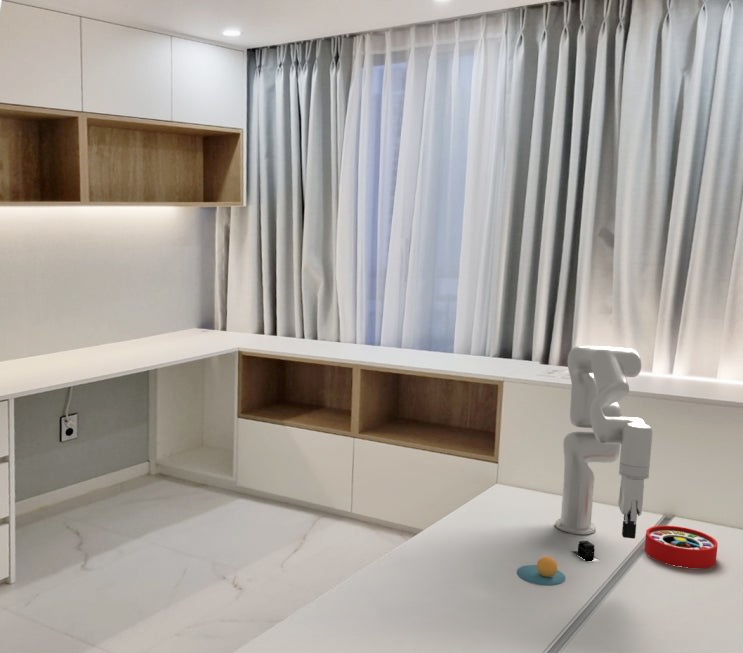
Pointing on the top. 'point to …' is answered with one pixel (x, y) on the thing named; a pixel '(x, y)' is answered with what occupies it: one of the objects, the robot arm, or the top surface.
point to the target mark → (539, 576)
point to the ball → (547, 566)
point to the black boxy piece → (585, 551)
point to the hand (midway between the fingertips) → (628, 536)
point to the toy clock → (681, 546)
